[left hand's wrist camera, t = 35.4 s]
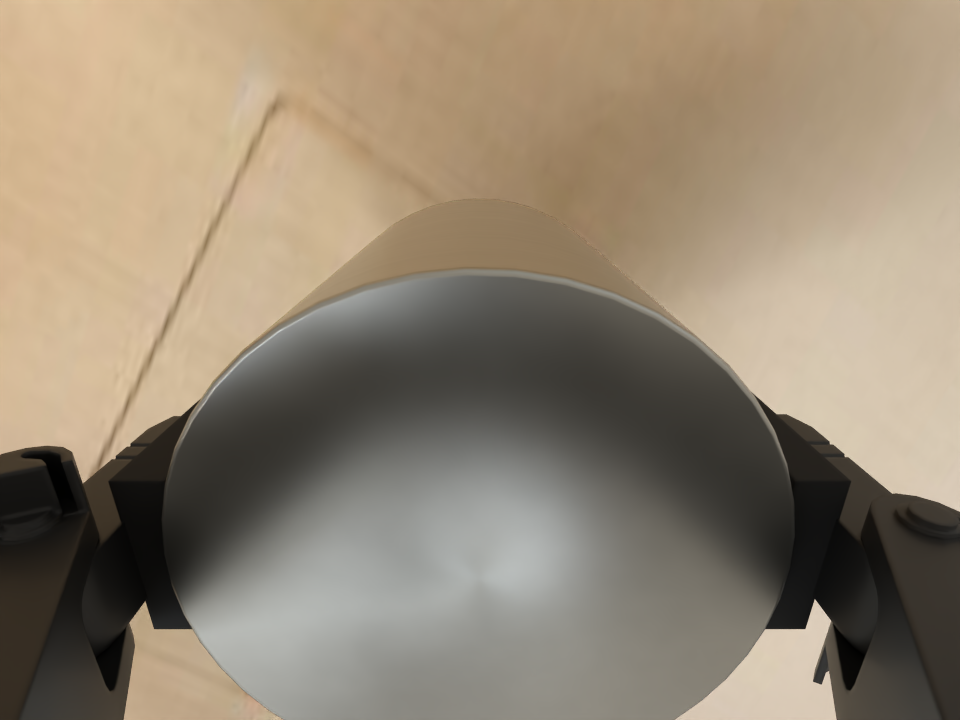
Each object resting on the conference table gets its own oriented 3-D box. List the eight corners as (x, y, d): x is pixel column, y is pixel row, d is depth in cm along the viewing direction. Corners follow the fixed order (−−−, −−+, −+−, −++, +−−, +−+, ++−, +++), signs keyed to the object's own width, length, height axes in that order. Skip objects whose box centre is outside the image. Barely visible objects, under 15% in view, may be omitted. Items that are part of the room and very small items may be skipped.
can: (274, 356, 15) (41, 589, 7) (471, 125, 13) (456, 81, 5) (485, 517, 18) (490, 839, 9) (685, 343, 15) (923, 566, 7)
